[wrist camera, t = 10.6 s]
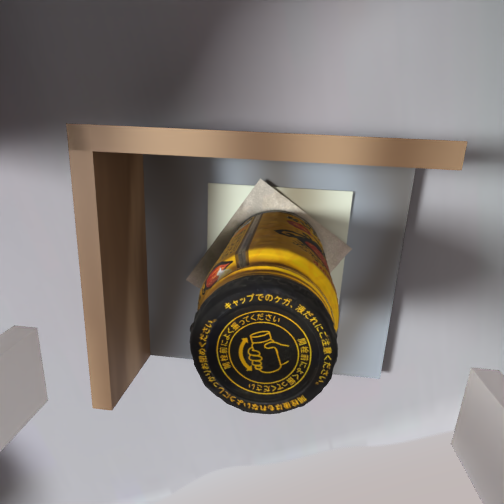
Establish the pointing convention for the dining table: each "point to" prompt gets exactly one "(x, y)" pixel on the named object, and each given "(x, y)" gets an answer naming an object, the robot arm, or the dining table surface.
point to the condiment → (267, 306)
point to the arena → (213, 222)
